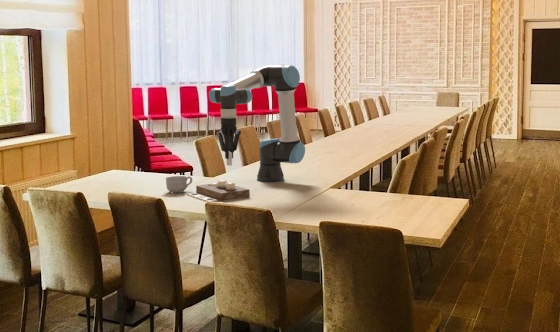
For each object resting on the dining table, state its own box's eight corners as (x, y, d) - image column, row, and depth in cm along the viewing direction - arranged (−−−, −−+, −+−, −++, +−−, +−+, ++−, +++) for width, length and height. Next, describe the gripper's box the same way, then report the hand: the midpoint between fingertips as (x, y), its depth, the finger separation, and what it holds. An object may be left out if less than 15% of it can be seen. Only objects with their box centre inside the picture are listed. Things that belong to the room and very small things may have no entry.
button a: (216, 188, 378) (216, 182, 378) (220, 189, 374) (220, 183, 374) (208, 189, 376) (208, 183, 375) (212, 190, 372) (212, 184, 371)
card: (196, 194, 373) (196, 192, 373) (217, 200, 355) (217, 199, 355) (187, 195, 370) (187, 193, 370) (208, 202, 352) (208, 200, 352)
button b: (224, 185, 371) (223, 180, 371) (228, 187, 367) (228, 181, 367) (216, 186, 369) (215, 180, 368) (220, 188, 365) (220, 182, 364)
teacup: (167, 194, 372) (166, 179, 371) (165, 190, 383) (164, 175, 382) (194, 192, 376) (194, 177, 375) (191, 189, 386) (191, 174, 385)
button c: (232, 188, 365) (231, 182, 364) (236, 189, 361) (236, 183, 360) (224, 189, 362) (223, 183, 362) (228, 190, 358) (228, 184, 358)
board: (223, 189, 384) (223, 182, 383) (249, 197, 363) (249, 189, 362) (196, 193, 375) (196, 185, 374) (221, 201, 354) (221, 193, 353)
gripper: (236, 116, 363) (236, 163, 366) (213, 117, 356) (214, 165, 359) (243, 117, 357) (244, 164, 360) (220, 118, 350) (221, 167, 353)
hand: (229, 165), depth 360 cm, fingers closed
